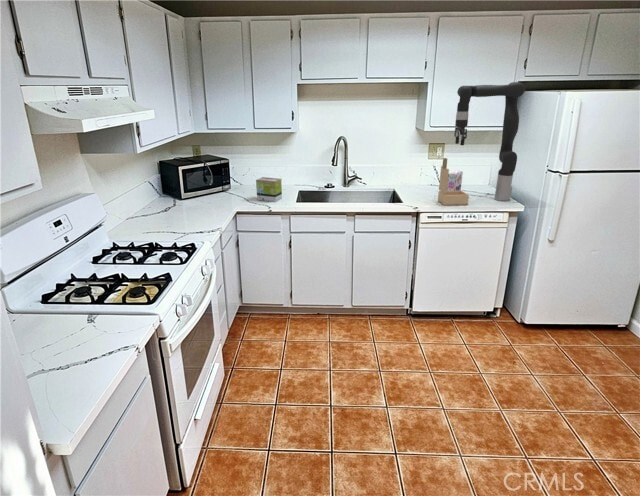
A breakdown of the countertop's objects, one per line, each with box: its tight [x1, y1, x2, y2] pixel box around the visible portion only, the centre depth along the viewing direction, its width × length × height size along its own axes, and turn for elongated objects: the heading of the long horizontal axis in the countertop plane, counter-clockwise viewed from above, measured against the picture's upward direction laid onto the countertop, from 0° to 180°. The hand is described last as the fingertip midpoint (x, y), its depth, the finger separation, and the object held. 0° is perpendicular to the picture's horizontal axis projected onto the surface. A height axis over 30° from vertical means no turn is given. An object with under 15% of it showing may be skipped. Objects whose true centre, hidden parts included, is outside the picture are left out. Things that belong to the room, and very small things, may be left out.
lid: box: [438, 157, 450, 194], centre depth 268 cm, size 22×12×2 cm
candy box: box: [447, 170, 464, 191], centre depth 293 cm, size 14×6×16 cm, turn 143°
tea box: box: [255, 176, 283, 203], centre depth 285 cm, size 15×10×15 cm
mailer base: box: [437, 190, 470, 207], centre depth 274 cm, size 16×12×7 cm
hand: (459, 144), depth 270 cm, fingers open, 8 cm apart
